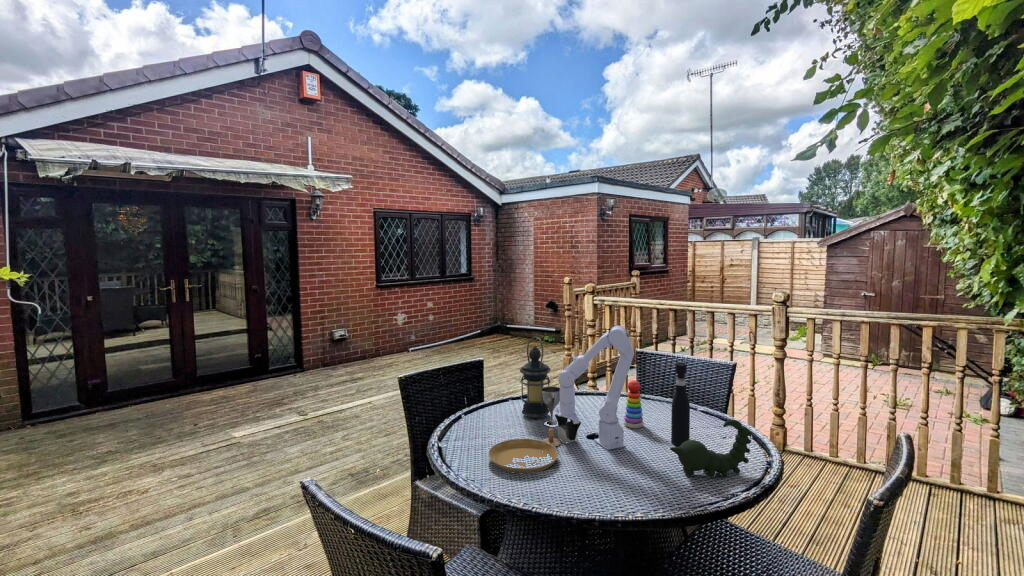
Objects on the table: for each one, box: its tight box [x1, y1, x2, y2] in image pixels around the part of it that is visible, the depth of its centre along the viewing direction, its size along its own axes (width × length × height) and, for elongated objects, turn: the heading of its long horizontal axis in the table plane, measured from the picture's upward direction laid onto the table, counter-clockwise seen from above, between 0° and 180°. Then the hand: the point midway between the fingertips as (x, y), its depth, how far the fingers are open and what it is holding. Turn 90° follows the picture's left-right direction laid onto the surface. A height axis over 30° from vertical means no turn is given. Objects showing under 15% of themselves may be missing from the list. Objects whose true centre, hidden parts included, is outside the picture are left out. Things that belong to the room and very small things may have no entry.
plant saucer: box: [487, 438, 559, 474], centre depth 164 cm, size 24×24×3 cm
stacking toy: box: [623, 380, 645, 429], centre depth 194 cm, size 8×8×19 cm
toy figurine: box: [669, 419, 752, 479], centre depth 151 cm, size 9×19×25 cm
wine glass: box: [542, 385, 560, 425], centre depth 197 cm, size 8×8×15 cm
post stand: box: [541, 428, 561, 448], centre depth 178 cm, size 7×7×6 cm
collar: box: [557, 424, 578, 444], centre depth 181 cm, size 6×6×5 cm
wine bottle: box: [670, 362, 691, 447], centre depth 175 cm, size 6×6×30 cm
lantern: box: [519, 336, 551, 419], centre depth 207 cm, size 14×13×35 cm
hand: (567, 436), depth 181 cm, fingers open, 7 cm apart
